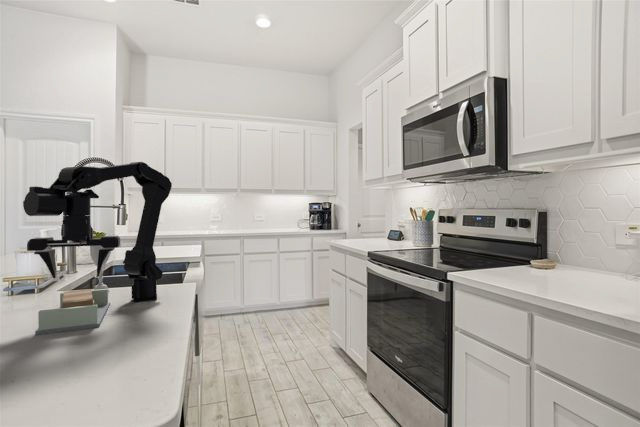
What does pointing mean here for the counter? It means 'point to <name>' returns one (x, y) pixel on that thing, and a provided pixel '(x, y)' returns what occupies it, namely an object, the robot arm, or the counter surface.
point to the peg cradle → (74, 315)
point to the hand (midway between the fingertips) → (77, 276)
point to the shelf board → (77, 298)
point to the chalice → (94, 255)
